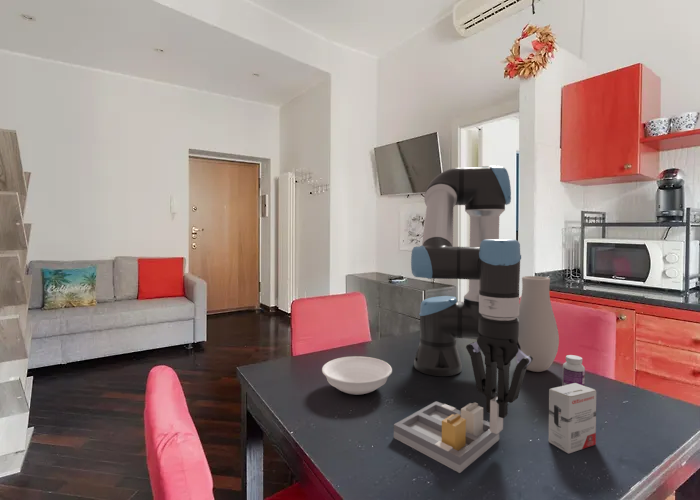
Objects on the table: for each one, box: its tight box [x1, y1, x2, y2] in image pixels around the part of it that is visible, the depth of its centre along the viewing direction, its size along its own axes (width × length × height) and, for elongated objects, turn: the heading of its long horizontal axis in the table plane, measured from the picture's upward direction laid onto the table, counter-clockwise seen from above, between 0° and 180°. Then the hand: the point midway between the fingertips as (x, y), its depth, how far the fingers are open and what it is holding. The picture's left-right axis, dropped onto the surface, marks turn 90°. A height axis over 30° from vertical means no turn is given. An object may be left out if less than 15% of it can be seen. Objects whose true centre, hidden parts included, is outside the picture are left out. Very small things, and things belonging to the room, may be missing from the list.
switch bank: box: [393, 401, 500, 474], centre depth 79 cm, size 16×16×3 cm
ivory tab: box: [460, 402, 484, 436], centre depth 79 cm, size 3×4×6 cm
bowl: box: [321, 355, 393, 396], centre depth 104 cm, size 20×20×6 cm
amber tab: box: [442, 414, 466, 451], centre depth 74 cm, size 3×4×6 cm
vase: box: [515, 275, 560, 373], centre depth 119 cm, size 14×14×30 cm
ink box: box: [548, 383, 597, 455], centre depth 77 cm, size 8×5×12 cm, turn 112°
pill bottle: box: [561, 354, 586, 386], centre depth 103 cm, size 5×5×10 cm
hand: (496, 430), depth 75 cm, fingers closed
